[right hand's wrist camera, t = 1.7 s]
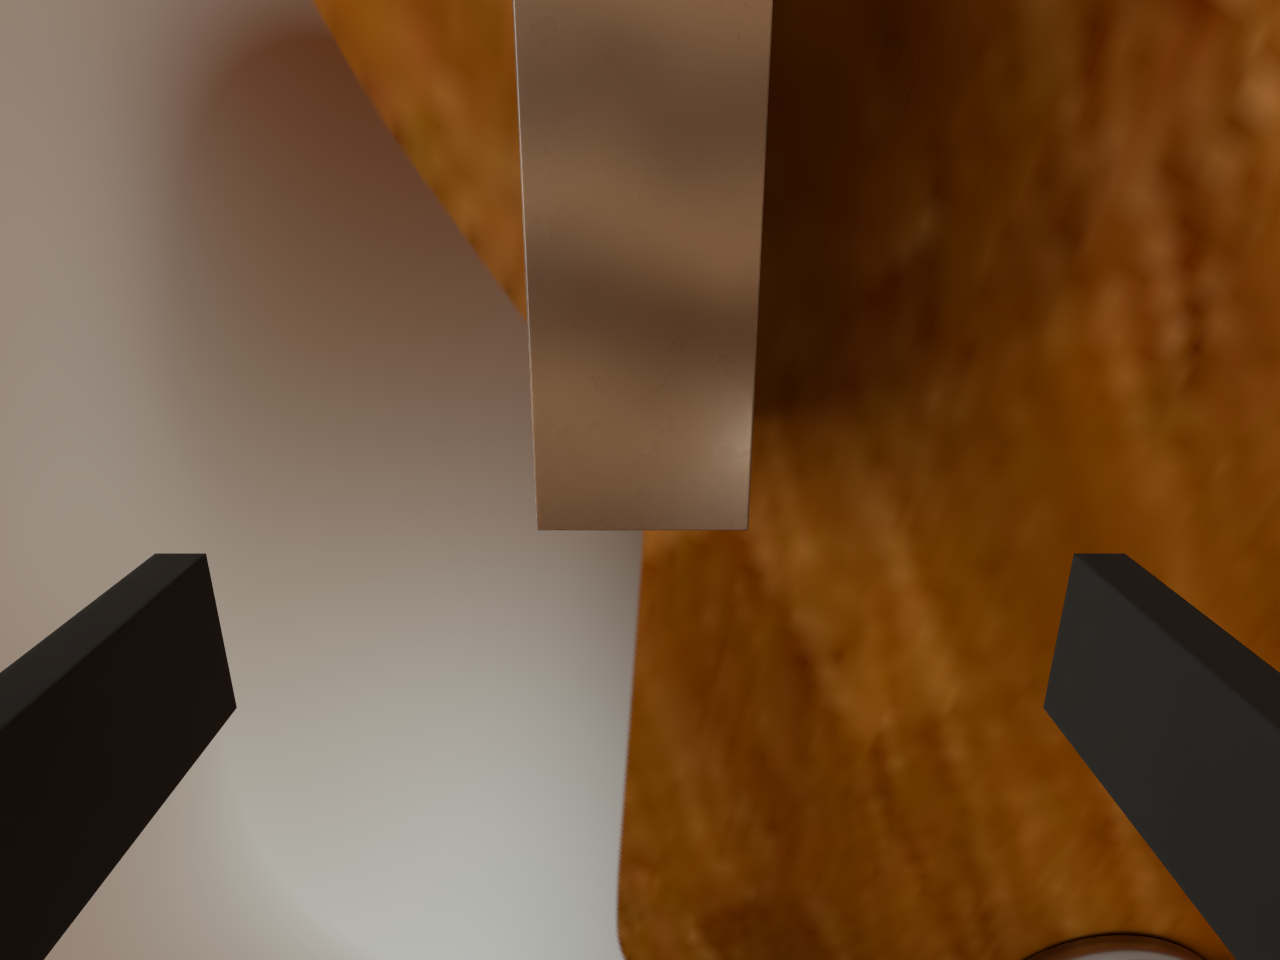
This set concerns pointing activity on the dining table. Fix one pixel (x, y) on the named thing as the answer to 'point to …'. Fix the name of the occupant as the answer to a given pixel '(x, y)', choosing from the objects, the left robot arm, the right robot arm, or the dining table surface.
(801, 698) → the dining table surface
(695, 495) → the box
